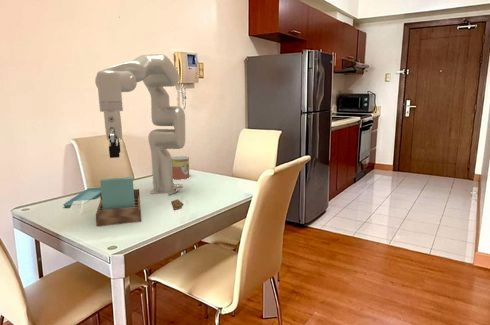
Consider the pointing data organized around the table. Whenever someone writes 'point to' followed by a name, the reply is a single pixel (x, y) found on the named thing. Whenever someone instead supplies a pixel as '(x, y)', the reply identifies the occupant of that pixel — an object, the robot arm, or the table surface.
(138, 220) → the rack
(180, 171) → the canned food
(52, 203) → the table surface
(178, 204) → the wooden fragment
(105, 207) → the tall sheet
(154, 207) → the table surface
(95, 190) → the shallow long dish
